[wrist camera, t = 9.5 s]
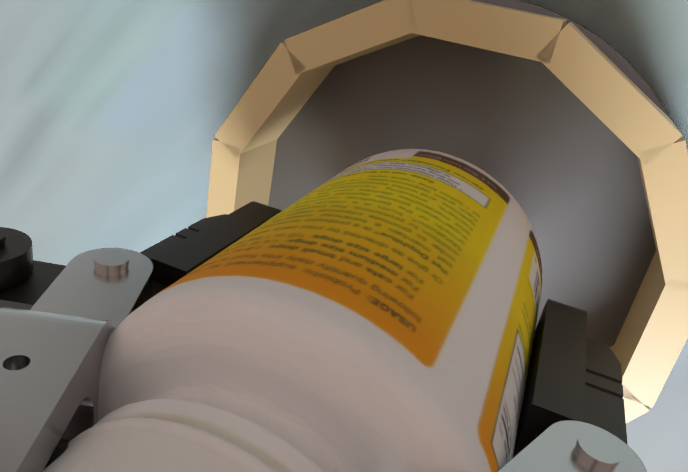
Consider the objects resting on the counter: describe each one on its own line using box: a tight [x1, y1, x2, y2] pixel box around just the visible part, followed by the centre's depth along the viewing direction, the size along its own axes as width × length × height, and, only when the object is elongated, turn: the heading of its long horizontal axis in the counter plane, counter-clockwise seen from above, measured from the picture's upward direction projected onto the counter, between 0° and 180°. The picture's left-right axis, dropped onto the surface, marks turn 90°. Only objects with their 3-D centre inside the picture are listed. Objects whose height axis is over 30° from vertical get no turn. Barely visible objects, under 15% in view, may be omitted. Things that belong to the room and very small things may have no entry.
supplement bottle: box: [43, 149, 543, 472], centre depth 10 cm, size 6×6×10 cm
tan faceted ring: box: [206, 0, 688, 423], centre depth 15 cm, size 12×12×3 cm
